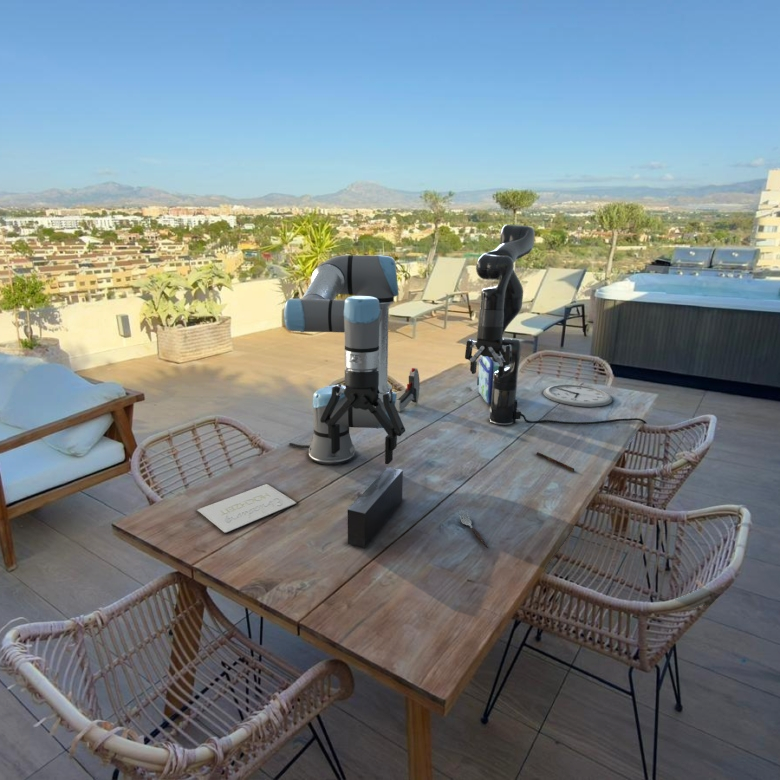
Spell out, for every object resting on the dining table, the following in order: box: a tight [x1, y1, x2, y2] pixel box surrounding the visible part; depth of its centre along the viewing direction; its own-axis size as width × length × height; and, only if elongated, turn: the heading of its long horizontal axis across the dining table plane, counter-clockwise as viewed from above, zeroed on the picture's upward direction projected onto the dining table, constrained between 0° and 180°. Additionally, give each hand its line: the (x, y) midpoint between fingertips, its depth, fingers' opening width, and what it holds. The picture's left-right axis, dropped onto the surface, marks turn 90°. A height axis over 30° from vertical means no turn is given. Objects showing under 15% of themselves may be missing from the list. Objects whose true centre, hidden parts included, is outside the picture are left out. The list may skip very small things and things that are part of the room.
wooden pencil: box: [535, 451, 575, 472], centre depth 171 cm, size 15×1×1 cm, turn 34°
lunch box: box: [476, 355, 509, 406], centre depth 230 cm, size 26×11×21 cm, turn 179°
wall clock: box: [543, 384, 613, 408], centre depth 240 cm, size 30×2×30 cm
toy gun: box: [395, 367, 421, 413], centre depth 219 cm, size 2×16×15 cm
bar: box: [347, 466, 404, 549], centre depth 134 cm, size 25×4×9 cm, turn 158°
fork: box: [457, 509, 489, 549], centre depth 131 cm, size 3×16×2 cm, turn 15°
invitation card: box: [196, 483, 297, 534], centre depth 141 cm, size 21×1×15 cm
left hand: (361, 456), depth 121 cm, fingers open, 13 cm apart
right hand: (486, 375), depth 162 cm, fingers open, 8 cm apart
